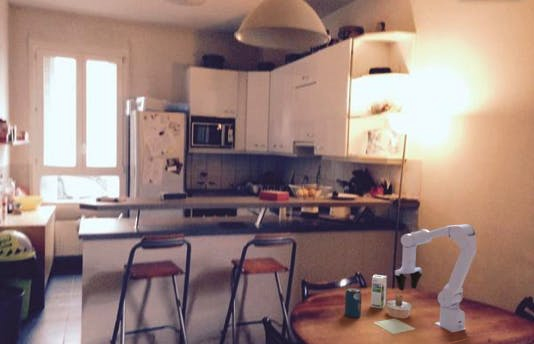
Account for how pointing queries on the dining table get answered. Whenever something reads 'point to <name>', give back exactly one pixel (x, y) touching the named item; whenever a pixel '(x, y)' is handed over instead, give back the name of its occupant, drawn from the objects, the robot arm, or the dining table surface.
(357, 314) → the soda can
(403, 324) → the mat
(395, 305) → the lid
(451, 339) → the dining table surface
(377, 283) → the syrup box
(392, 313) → the bowl
